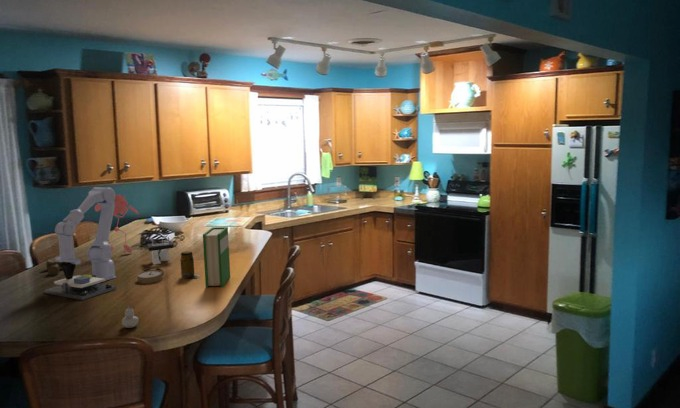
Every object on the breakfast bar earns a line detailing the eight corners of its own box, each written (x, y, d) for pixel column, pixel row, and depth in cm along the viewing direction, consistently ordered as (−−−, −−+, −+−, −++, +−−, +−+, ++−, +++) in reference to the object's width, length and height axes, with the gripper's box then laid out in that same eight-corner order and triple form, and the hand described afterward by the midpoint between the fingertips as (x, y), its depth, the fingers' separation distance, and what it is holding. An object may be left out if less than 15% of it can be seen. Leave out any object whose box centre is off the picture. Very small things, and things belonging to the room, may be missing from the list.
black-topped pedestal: (135, 271, 270) (133, 245, 268) (132, 261, 294) (130, 237, 292) (192, 265, 281) (190, 240, 279) (185, 255, 305) (183, 232, 303)
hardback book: (222, 287, 238) (219, 234, 234) (205, 287, 237) (202, 234, 234) (230, 276, 255) (227, 227, 252) (214, 277, 255) (212, 227, 252)
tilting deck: (54, 283, 235) (53, 277, 234) (78, 277, 245) (78, 270, 245) (81, 288, 226) (80, 281, 226) (105, 280, 237) (104, 274, 236)
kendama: (42, 277, 263) (49, 267, 282) (64, 276, 267) (69, 266, 285) (41, 266, 262) (48, 256, 281) (63, 264, 266) (68, 255, 284)
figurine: (138, 255, 305) (134, 194, 301) (93, 256, 306) (88, 195, 302) (148, 250, 320) (144, 192, 317) (105, 251, 321) (101, 193, 317)
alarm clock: (133, 278, 245) (142, 265, 259) (135, 288, 247) (144, 274, 261) (158, 277, 246) (166, 264, 260) (159, 287, 247) (167, 273, 262)
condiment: (183, 275, 260) (181, 250, 259) (200, 274, 260) (199, 250, 258) (178, 279, 253) (177, 254, 251) (196, 278, 253) (195, 253, 251)
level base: (44, 293, 235) (43, 280, 234) (79, 283, 250) (78, 271, 249) (82, 300, 223) (81, 287, 222) (116, 289, 238) (115, 277, 237)
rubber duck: (120, 330, 187) (118, 308, 186) (124, 324, 193) (123, 302, 192) (136, 329, 188) (135, 307, 187) (140, 322, 194) (138, 301, 193)
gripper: (47, 249, 237) (50, 279, 239) (69, 252, 230) (71, 282, 232) (62, 246, 243) (65, 275, 245) (83, 248, 236) (86, 278, 238)
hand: (69, 278), depth 239 cm, fingers closed, pressing on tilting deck
